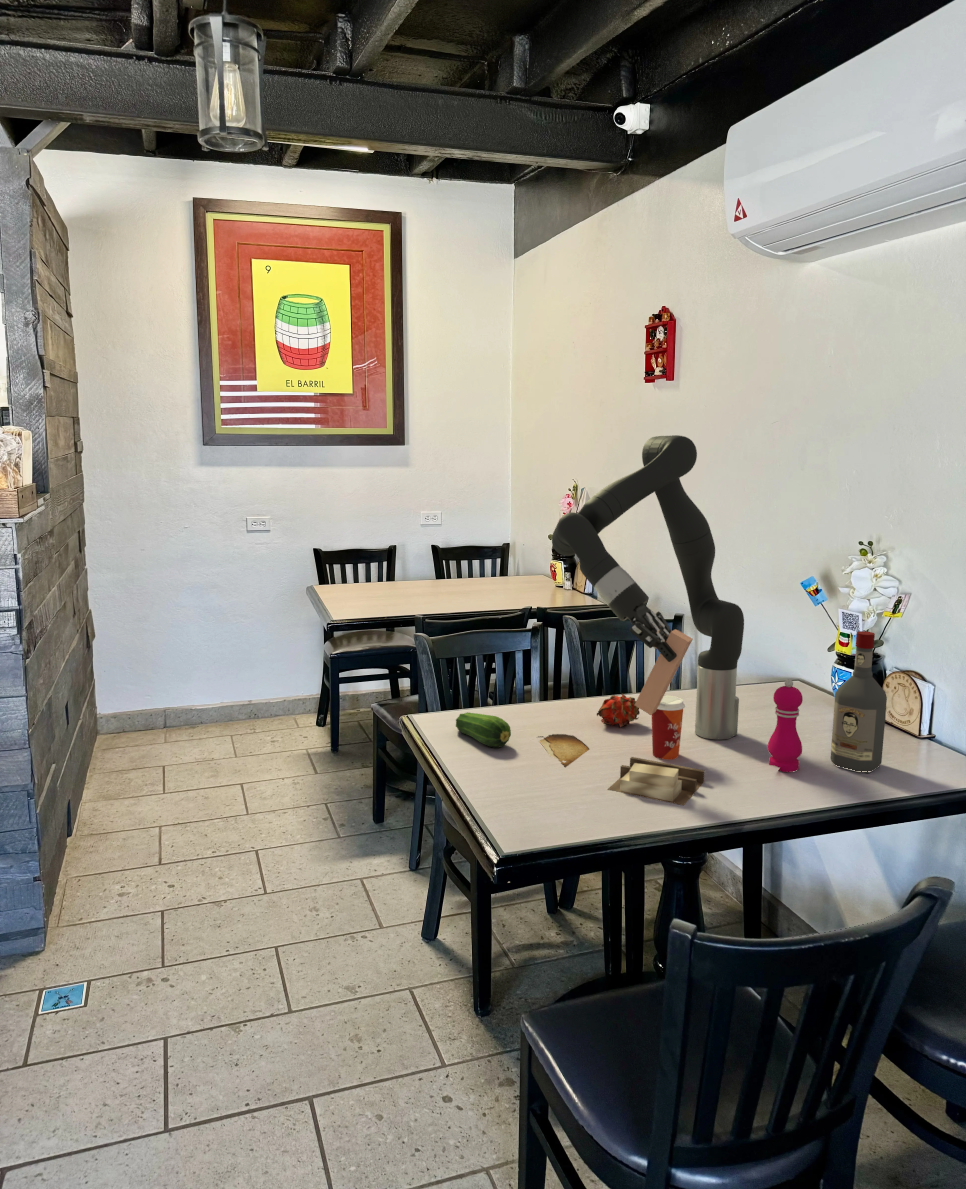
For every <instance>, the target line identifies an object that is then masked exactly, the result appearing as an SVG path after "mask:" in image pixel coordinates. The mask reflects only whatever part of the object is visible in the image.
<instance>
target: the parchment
mask: <svg viewBox="0 0 966 1189" xmlns="http://www.w3.org/2000/svg"><path fill="white" fill-rule="evenodd" d="M536 738H537V739H538V738H543V739H539V741H538V742H540V744H541V745H542V746H543V748H544V749H545V751H546V752H547V754H548V755H549V757H552V758H554V759H556V760H557V761H558V762H560V764H561V765H562V766H563V767H564V768H567V767H569V766H570V765H571V764H572V763H574V762H576V760H578V758H580V757H582V756H583V755H584V754H586V752H588V751H589V750H590V748H589V746H588V745H587V744H586V743H585V742H583V741H582V740H581V739H579V738H578V737H577V736H575V735H573V734H565V733H552V734H548V736H542V735H541V736H539V735H538V736H536Z"/></svg>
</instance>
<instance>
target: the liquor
mask: <svg viewBox="0 0 966 1189" xmlns="http://www.w3.org/2000/svg"><path fill="white" fill-rule="evenodd" d="M875 634H876V633H875V632H872V631H864V630H862V631H857V632H856V635H855V636H856V637H855V658H854V667H853V668H854V669H853V671H852V675H851V676H850V677H849V678H847V680H845V682H843V683H842V684H841V685H840V686H839V687H837V689H836V691H835V695H834V705H833V719H832V730H831V731H832V734H831V748H830V760H831V762H833V763H834V764H835V765H837V766H840V767H844V768H848V769H852V770H855V771H861V772H862V771H867V772H868V771H872V770H873V771H874V769H875V768H876V769H878V768H879V767H880V766H881V765H882V761H883V760H882V759H883V750H884V736H885V726H886V725H885V724H886V716H887V715H886V714H887V713H886V712H887V701H888V697H887V694H886V692H885V690H884V689H883V688H882V687H881V685H880V684H879V683H878V681H877V680H876V679H875V678H874V676H873V671H872V670H873V668H872V666H873V665H872V664H873V656H874V655H873V651H874V648H875V636H876V635H875ZM833 763H832V764H833ZM834 764H833V765H834ZM835 765H834V766H835ZM878 766H879V767H878ZM877 767H878V768H877ZM876 769H875V770H876ZM873 771H872V772H873Z"/></svg>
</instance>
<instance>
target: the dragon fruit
mask: <svg viewBox="0 0 966 1189" xmlns="http://www.w3.org/2000/svg"><path fill="white" fill-rule="evenodd" d="M620 695H621V696H619V695H614V694H613V695H610V698H607V699H604V700H603V702H602V705H601V706H600V708H599V710H598V711H597V712H596V717H600V718H601V720H600V722H601V723H603V725H609V726H615V725H619V728H623V727H624V726H627V725H630V722H634V721H636V720H639V718H640V717H639V716H638V715H640V708H638V707H637V706H635V703H636V701H637V700H636V698H635V697H633V696H629V697H627V695H625V694H624V693H621V694H620Z"/></svg>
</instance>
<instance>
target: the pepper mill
mask: <svg viewBox="0 0 966 1189" xmlns="http://www.w3.org/2000/svg"><path fill="white" fill-rule="evenodd" d="M803 701H804V700H803V693H802V692H801V690H800V689H799V688H797V687H795V686H794V681H793V680H792V679H786V680H784V685H782V686H780V687H777V689H776V690H774V693H773V702H774V703H775V705H776V706H775V708H774V710H775V711H774V714H775V715H776V719H777V720H776V725H775V728H774V731H773V733H772V734H771V735H770V738H769V739H768V744H767V751H768V753H769V754H770V757H769V760H768V765H769V766H773V767H775V768H776V767H777V768H779V769H778V770H777V771H778V772H780V771H782V772H781V773H794V772H793V771H795V772H797V771H799V769H800V760H799V759H798V758H800V756H801V755H802V754H803V745H802V742H801V741H802V740H801V739H800V736H799V733H798V730H797V720H798V719H797V718H798V717H799V716H800V709H799V708H800V707H801V705H802V703H803ZM796 770H797V771H796Z"/></svg>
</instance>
